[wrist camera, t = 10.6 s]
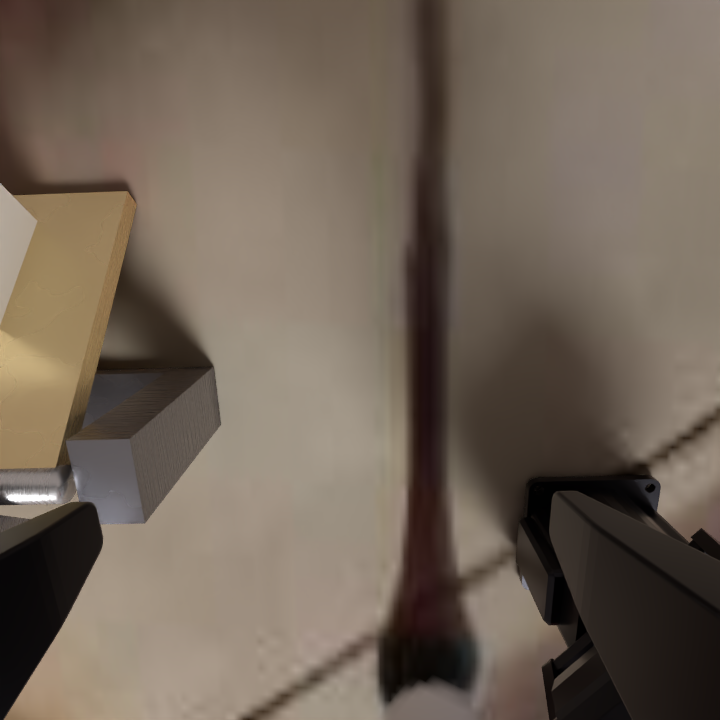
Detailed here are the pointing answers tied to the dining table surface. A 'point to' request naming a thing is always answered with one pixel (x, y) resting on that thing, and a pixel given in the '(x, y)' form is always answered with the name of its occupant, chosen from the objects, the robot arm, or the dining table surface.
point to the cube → (12, 243)
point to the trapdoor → (56, 339)
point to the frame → (141, 437)
